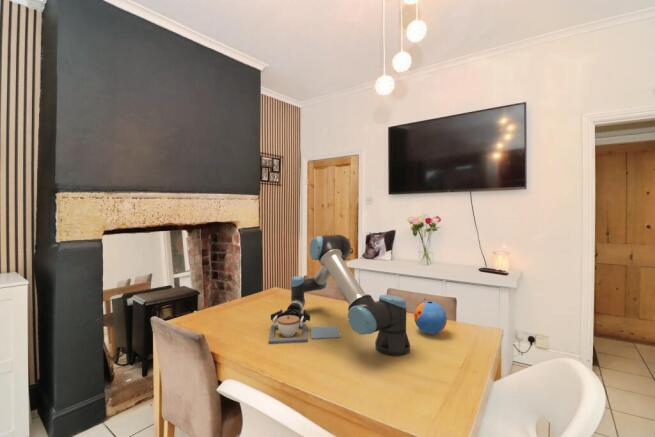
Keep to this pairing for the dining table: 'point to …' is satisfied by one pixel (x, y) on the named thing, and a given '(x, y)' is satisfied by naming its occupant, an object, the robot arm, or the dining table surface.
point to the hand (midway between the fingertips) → (287, 323)
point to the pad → (324, 332)
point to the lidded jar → (288, 325)
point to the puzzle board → (287, 340)
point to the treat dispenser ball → (430, 317)
